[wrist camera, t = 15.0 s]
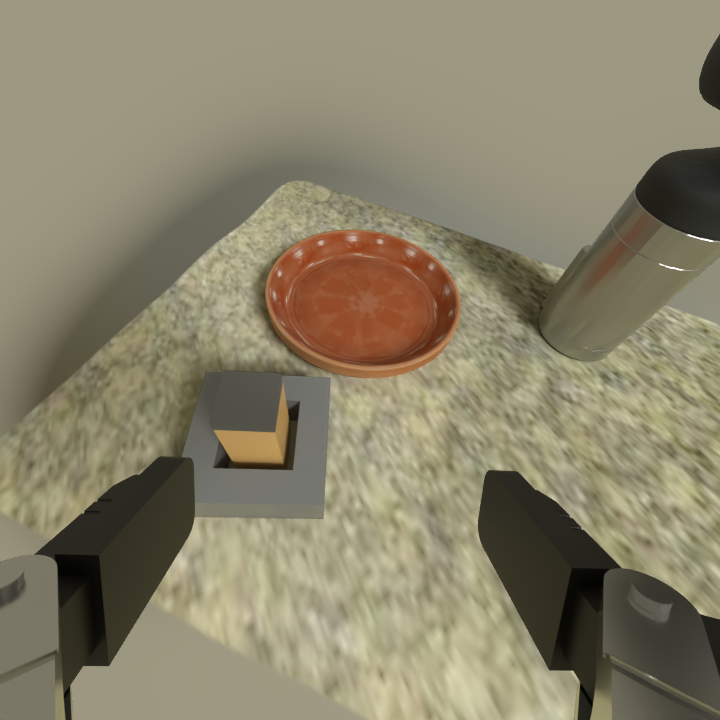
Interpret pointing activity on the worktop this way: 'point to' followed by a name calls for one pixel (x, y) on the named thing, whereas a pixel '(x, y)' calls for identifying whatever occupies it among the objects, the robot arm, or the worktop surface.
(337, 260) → the saucer
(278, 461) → the plug
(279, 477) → the socket block
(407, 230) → the worktop surface
